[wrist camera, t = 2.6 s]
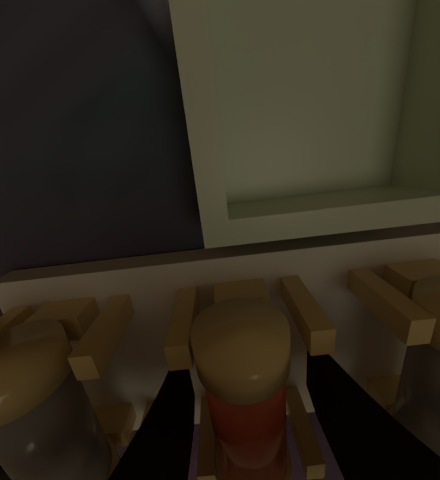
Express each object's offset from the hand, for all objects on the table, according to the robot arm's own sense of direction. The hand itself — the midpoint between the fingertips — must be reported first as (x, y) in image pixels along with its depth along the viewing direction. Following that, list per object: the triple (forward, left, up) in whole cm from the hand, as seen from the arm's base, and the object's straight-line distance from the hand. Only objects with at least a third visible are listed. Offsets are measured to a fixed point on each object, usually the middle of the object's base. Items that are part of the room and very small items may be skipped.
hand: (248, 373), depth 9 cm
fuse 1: (0, +7, 0) cm, 7 cm away
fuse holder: (0, 0, -2) cm, 2 cm away
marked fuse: (0, 0, 0) cm, 0 cm away
